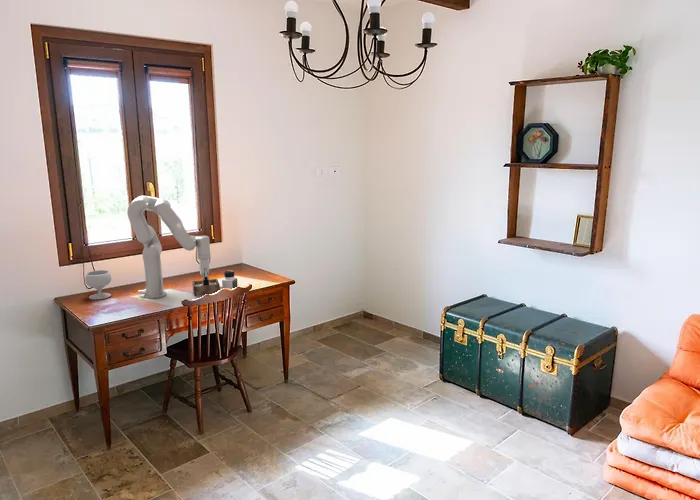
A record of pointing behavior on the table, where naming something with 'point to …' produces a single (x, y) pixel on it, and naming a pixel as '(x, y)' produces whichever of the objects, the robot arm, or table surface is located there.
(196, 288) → the bore box
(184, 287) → the table surface
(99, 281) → the chalice
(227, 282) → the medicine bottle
